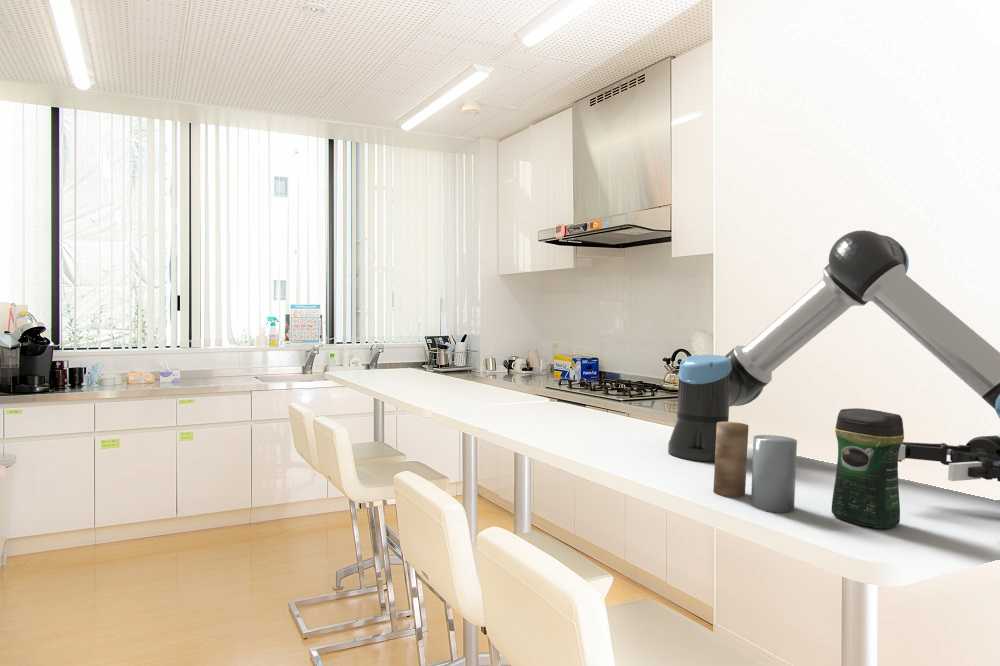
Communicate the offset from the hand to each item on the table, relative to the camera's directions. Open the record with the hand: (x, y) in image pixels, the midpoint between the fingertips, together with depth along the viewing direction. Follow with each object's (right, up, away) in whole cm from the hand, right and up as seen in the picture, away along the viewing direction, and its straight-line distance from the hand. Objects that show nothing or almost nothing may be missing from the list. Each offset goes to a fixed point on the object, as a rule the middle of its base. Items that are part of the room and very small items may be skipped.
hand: (911, 462), depth 111 cm
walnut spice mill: (-27, -8, +11) cm, 30 cm away
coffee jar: (-10, -9, -3) cm, 14 cm away
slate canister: (-22, -8, +3) cm, 24 cm away
